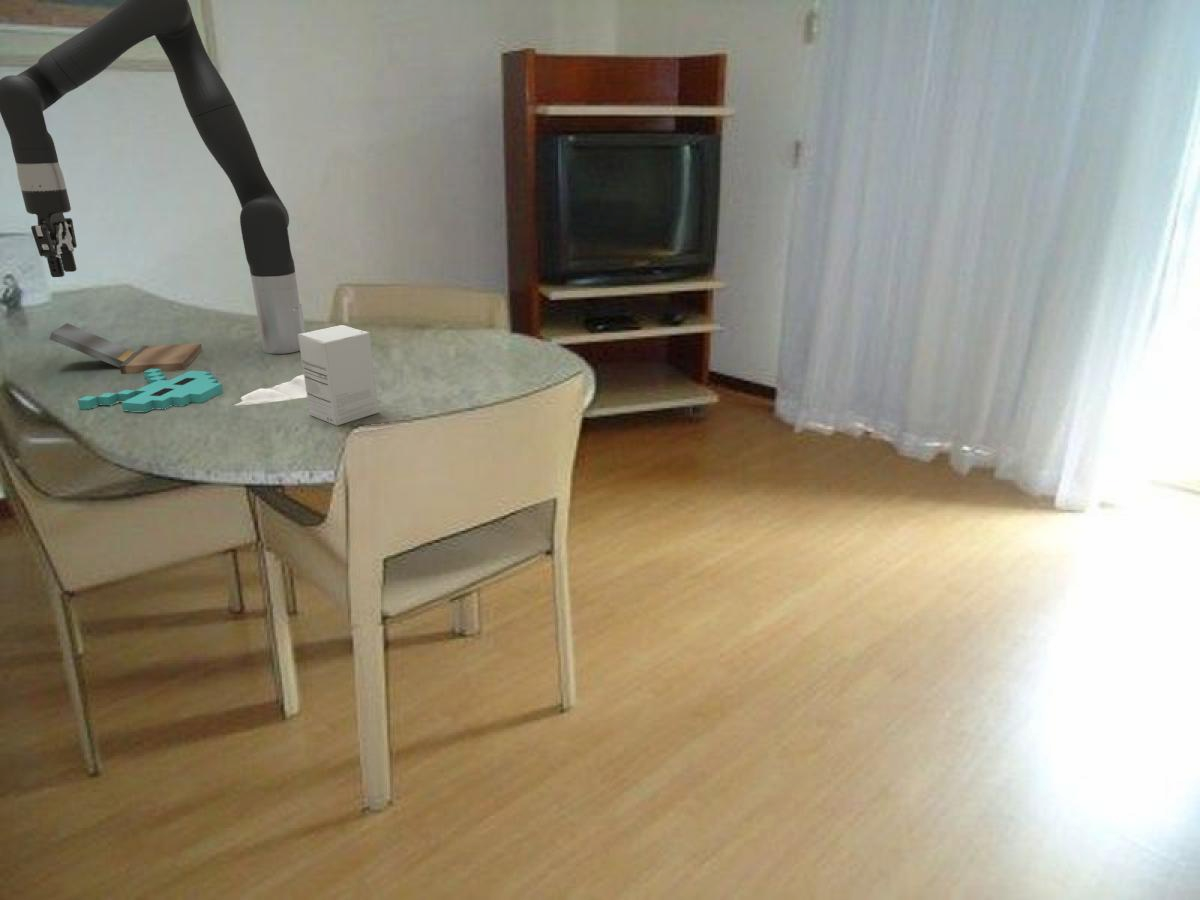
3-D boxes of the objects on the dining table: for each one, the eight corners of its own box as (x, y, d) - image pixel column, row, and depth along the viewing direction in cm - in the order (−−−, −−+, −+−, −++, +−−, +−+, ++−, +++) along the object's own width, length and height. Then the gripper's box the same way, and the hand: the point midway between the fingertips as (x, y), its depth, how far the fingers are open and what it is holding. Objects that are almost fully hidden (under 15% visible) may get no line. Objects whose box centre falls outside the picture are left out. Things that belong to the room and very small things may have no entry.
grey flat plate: (133, 358, 180) (136, 351, 180) (121, 368, 173) (124, 362, 173) (64, 329, 175) (67, 323, 175) (49, 339, 168) (51, 332, 168)
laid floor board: (202, 351, 186) (200, 342, 186) (184, 371, 172) (182, 362, 171) (145, 354, 184) (143, 345, 183) (121, 374, 170) (119, 365, 169)
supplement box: (351, 402, 153) (342, 323, 148) (380, 413, 148) (371, 331, 142) (307, 415, 147) (295, 332, 141) (335, 426, 141) (324, 341, 136)
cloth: (245, 417, 148) (243, 405, 147) (212, 400, 157) (209, 388, 156) (371, 384, 166) (370, 374, 165) (335, 371, 174) (334, 360, 173)
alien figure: (80, 411, 150) (179, 417, 147) (77, 399, 149) (177, 406, 146) (153, 378, 169) (242, 384, 165) (150, 368, 168) (241, 373, 165)
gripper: (49, 190, 156) (71, 279, 162) (78, 184, 169) (97, 267, 175) (5, 191, 154) (29, 281, 161) (37, 184, 167) (58, 268, 174)
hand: (64, 273), depth 168 cm, fingers open, 5 cm apart
